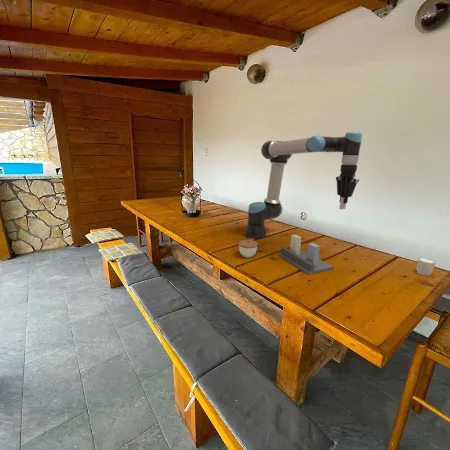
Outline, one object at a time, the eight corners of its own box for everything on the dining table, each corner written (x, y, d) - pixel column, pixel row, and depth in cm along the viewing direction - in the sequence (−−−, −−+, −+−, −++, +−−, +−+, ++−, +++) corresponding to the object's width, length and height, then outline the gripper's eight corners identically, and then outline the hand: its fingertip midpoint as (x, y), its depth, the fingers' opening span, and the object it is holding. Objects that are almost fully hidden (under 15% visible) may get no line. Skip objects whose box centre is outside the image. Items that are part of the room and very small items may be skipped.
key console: (278, 255, 141) (279, 247, 140) (301, 251, 147) (302, 243, 146) (308, 274, 119) (309, 265, 118) (333, 269, 125) (334, 260, 124)
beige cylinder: (415, 268, 127) (418, 256, 125) (432, 272, 123) (435, 260, 121) (414, 273, 122) (417, 260, 120) (432, 277, 118) (435, 264, 116)
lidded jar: (241, 260, 134) (242, 244, 132) (236, 252, 144) (236, 237, 142) (259, 258, 137) (260, 242, 134) (252, 251, 147) (253, 236, 144)
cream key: (289, 253, 140) (291, 235, 137) (293, 252, 141) (295, 234, 138) (295, 256, 135) (296, 238, 132) (299, 255, 137) (301, 237, 133)
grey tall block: (306, 263, 128) (308, 243, 124) (310, 262, 129) (312, 242, 125) (312, 267, 123) (315, 247, 120) (317, 266, 124) (320, 246, 121)
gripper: (365, 164, 121) (357, 211, 127) (344, 163, 132) (337, 206, 139) (354, 164, 118) (347, 212, 125) (333, 163, 129) (327, 207, 136)
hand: (342, 208), depth 132 cm, fingers closed
